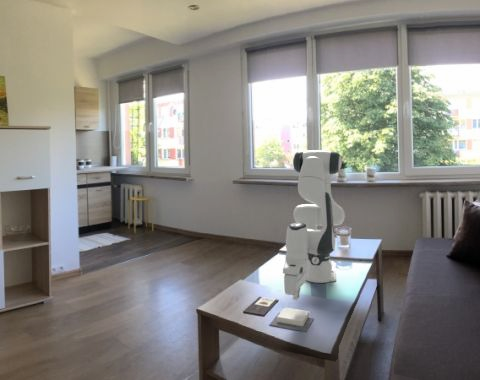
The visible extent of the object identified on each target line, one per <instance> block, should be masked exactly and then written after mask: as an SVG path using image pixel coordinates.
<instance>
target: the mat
mask: <svg viewBox="0 0 480 380" xmlns="http://www.w3.org/2000/svg"><path fill="white" fill-rule="evenodd" d="M280 313H281V312H278V313H277V315H275V317H274V318H273V319H272V321H271V322H270V323H269V326H271V327H276V328H282V329H288V330H292V331H297V332H304V333H307V331H308V329H309V328H310V327H311V324H312V323H313V321H314V317H310V316H309V317H308V319H307V320H306V322H305V324H304V325H303V326H297V325H292V324H286V323H281V322H277V316H278V315H279V314H280Z"/></svg>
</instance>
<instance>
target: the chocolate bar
mask: <svg viewBox="0 0 480 380" xmlns="http://www.w3.org/2000/svg"><path fill="white" fill-rule="evenodd" d="M278 302H279V299H276V298H270V297H265V296H258V297H257V298H256V299H255V300H253V302H251V304H250V305H248V306H247V308H246V309H244V310H243V311H242V313H243V314H248V315H253V316H260V317H265V316H266V315H267V314H268V313H269V312H270V311H271V309H273V307H274V306H275V305H277V303H278Z"/></svg>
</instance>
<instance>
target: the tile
mask: <svg viewBox="0 0 480 380" xmlns="http://www.w3.org/2000/svg"><path fill="white" fill-rule="evenodd" d="M279 313H280V314H279V315H278V314H277V315H278V316H277V315H276V316H277V322H281V323H286V324H292V325H297V326H303V325H304V324H305V322H306V320H307V319H308V317H309V318H310V310H309V311H308V310H304V309H297V308H291V307H284V308H283V309H282V310H281V312H279Z"/></svg>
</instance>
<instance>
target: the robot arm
mask: <svg viewBox="0 0 480 380" xmlns="http://www.w3.org/2000/svg"><path fill="white" fill-rule="evenodd" d="M342 162H343V161H342V158H341V155H340V153H339V152H337V151H333V150H332V151H330V150H329V151H328V150H323V149H322V150H321V149H320V150H319V149H316V150H298V151H297V152H295V153H294V156H293V159H292V166H293V169H294V171H296V172H297V173H299V176H298V182H297V192H298V194H299V196H300V197H301V198H302V199H303V200H305V201H306V202H307V203H305V204H298V205H296V206H295V208H294V210H293V214H292V215H293V219H294V222H292V223H289V224H288V226H287V229H286V235H285V248H286V253H285V262H284V266H283V268H282V274H284V276H283V284H284V293H285V294H286V295H288V296H292V300H294V301H297V300H298V299H299V298H300V293H301V288H302V287H303V285H305V282H311V283H316V284H319V283H320V284H321V283H322V284H323V283H329V282H337V278H336V277H337V276H336V271H335V270H333V264H332V261H331V254H332V253H333V252H334V251H335V248H336V237H335V232H334V231H335V230H334V226H335V227H337V226H340V225H342V224H343V222H344V221H345V217H346V212H345V211H344V209H343V207H342V206H340V205H339V204H338V203H337V202H336V201H335V200H334V199H333V195H332V188H331V183H332V181H331V180H332V175H336V174H338V173H339V172H340V170H341V167H342V165H343V163H342ZM319 226H320V227H322V228H321V229H318V227H319Z"/></svg>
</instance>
